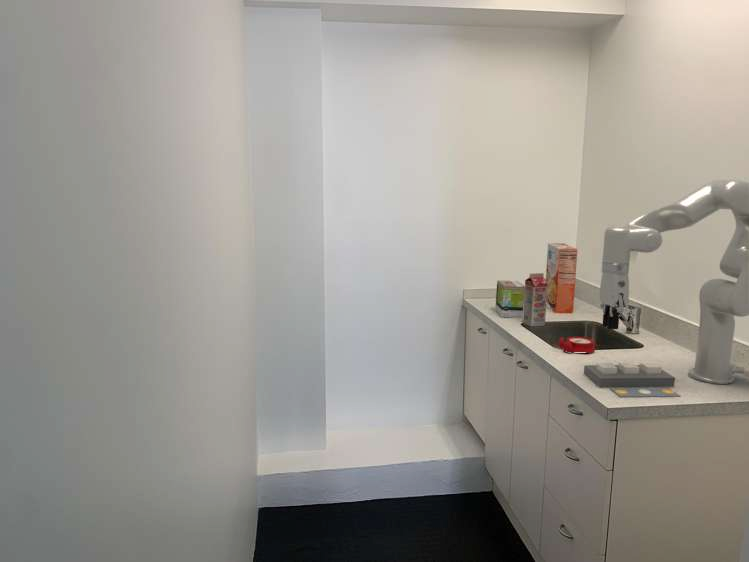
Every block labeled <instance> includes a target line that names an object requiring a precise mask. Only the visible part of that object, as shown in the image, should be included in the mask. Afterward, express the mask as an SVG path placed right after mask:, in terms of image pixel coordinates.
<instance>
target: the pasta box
mask: <svg viewBox="0 0 749 562" xmlns="http://www.w3.org/2000/svg"><path fill="white" fill-rule="evenodd" d="M577 261H578V249H577V248H576V247H573V246H571V245H570V244H569V245H568V244H567V243H561V242H560V243H556V242H555V243H552V242H551V243H550V242H548V243H547V253H546V269H545V280H546V281H547V282H548V284H547V300H546V303H547V304H548V305H549V306H550V308H551V309H552V310H551V309H550V308H549V309H550V310H551V311H553V313H554V314H574V303H575V301H574V299H575V287H576V286H575V285H576V273H577Z"/></svg>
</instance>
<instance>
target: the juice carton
mask: <svg viewBox="0 0 749 562" xmlns="http://www.w3.org/2000/svg"><path fill="white" fill-rule="evenodd" d="M547 284H548V282H547V281H546V278H545V277H544V272H543V273H542V272H541V273H537V272H536V273H529V277H528V278H526V279H525V280H524V286H525V292H524V306H523V317H522V323H523V324H525V325H528V326H529V327H540V326H546V325H545V324H546V314H547V312H546V311H547V305H546V300H547Z"/></svg>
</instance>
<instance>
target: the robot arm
mask: <svg viewBox="0 0 749 562" xmlns="http://www.w3.org/2000/svg"><path fill="white" fill-rule="evenodd" d="M719 210H731V212H732V214H733V216H734V219H735V229H734V232H733V234H732V237H731V239H730V242H729V244H728V245H727V247H726V249H725V251H724V252H723V255H722V257H721V259H720V262H719V270H720V271H721V273H723V274H724V275H725V276H728V277H731V278H734V279H736V281H731V280H727V279H724V278H712V279H709V280H707V281H705V282H704V283H703V284H702V285H701V287H700V290H699V293H698V294H699V295H698V296H699V297H698V298H699V300H698V301H699V309H700V311H699V313H700V314H699V316H700V317H699V326H698V333H697V342H696V343H697V344H696V352H695V361H694V367H692V368H690V369H688V372H687V373H688V376H689V377H691V378H693V379H695V380H697V381H700V382H704V383H708V384H716V385H717V384H718V385H726V384H727V385H728V383H729V384H732V383H734V381H735V376H734V374H743V373H745V368H744V367H743V366H738V367H737V366H735V365H734V364H732V365H731V361H732V360H731V358H732V351H733V345H734V344H733V343H734V336H735V331H736V330H735V329H736V328H735V327H736V324H735V323H736V322H735V317H739V318H742V317H743V318H744V317H747V316H749V182H746V181H743V180H737V179H715V180H711V181H708V182H707V183H705V184H703V185H702V186H700V187H699V188H697V189H695V190H693V191H691V192H690V193H688V194H687V195H685V196H684V197H681V198H680V199H678V200H677V201H674V202H673V203H670V204H668V205H665V206H662V207H660V208H658V209H654V210H651V211H650V212H647V213H644V214H643V215H641V216H639V217H637V218H635V219H633V220H632V221H630V222H629V223H628V224H626V225H625V226H609V227H607V228H606V229H605V231H604V239H603V251H602V263H601V273H602V275H601V280H600V285H599V286H600V288H599V300H600V303H601V304H602V308H603V309H602V314H603V315H602V326H603V328H604V327H605V328H607V329H608V330H618V329H619V324H620V323H619V321H620V317H621V314H622V313H623V312H624V311H625V310H624V309H625V308H627V307H628V306H629V297H630V294H629V293H630V281H629V280H630V279H629V271H630V260H631V259H630V258H631V252H639V253H644V254H645V253H646V254H647V253H652V252H655V251H657V250H658V249H659V248H660V247H661V245H662V243H663V237H662V234H661V233H664V232H668V231H674V230H681V229H686V228H690V227H692V226H695V225H696V224H697V223H699V222H701V221H702V220H704V219H705V218H708V217H709V216H711V215H713V214H714V213H715V212H717V211H719Z"/></svg>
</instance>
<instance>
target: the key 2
mask: <svg viewBox="0 0 749 562" xmlns="http://www.w3.org/2000/svg"><path fill="white" fill-rule="evenodd" d="M639 365H640V370H641V371H643V372H644V373H646V374H661V369H662V367H663V366H661V365H658V364H657V363H655V362H640V364H639ZM662 370H663V369H662Z"/></svg>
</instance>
